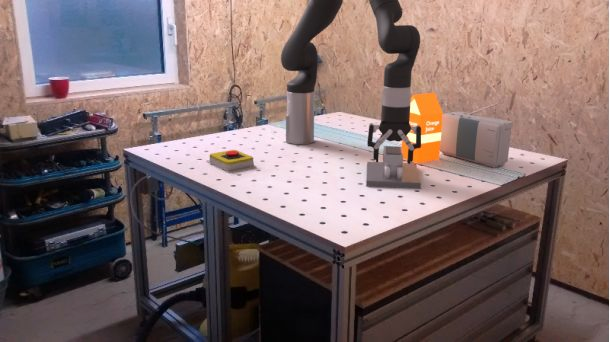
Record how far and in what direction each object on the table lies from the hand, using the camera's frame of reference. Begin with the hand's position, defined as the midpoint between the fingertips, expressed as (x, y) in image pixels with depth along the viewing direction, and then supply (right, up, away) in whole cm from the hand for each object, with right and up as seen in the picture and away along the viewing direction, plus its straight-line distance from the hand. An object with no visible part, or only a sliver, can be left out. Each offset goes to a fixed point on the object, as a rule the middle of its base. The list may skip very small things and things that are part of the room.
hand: (392, 162), depth 151 cm
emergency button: (-46, -1, +12) cm, 47 cm away
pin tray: (0, -4, +1) cm, 4 cm away
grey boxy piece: (0, -3, +1) cm, 3 cm away
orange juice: (+11, +1, +19) cm, 22 cm away
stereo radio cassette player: (+27, +1, +18) cm, 33 cm away
